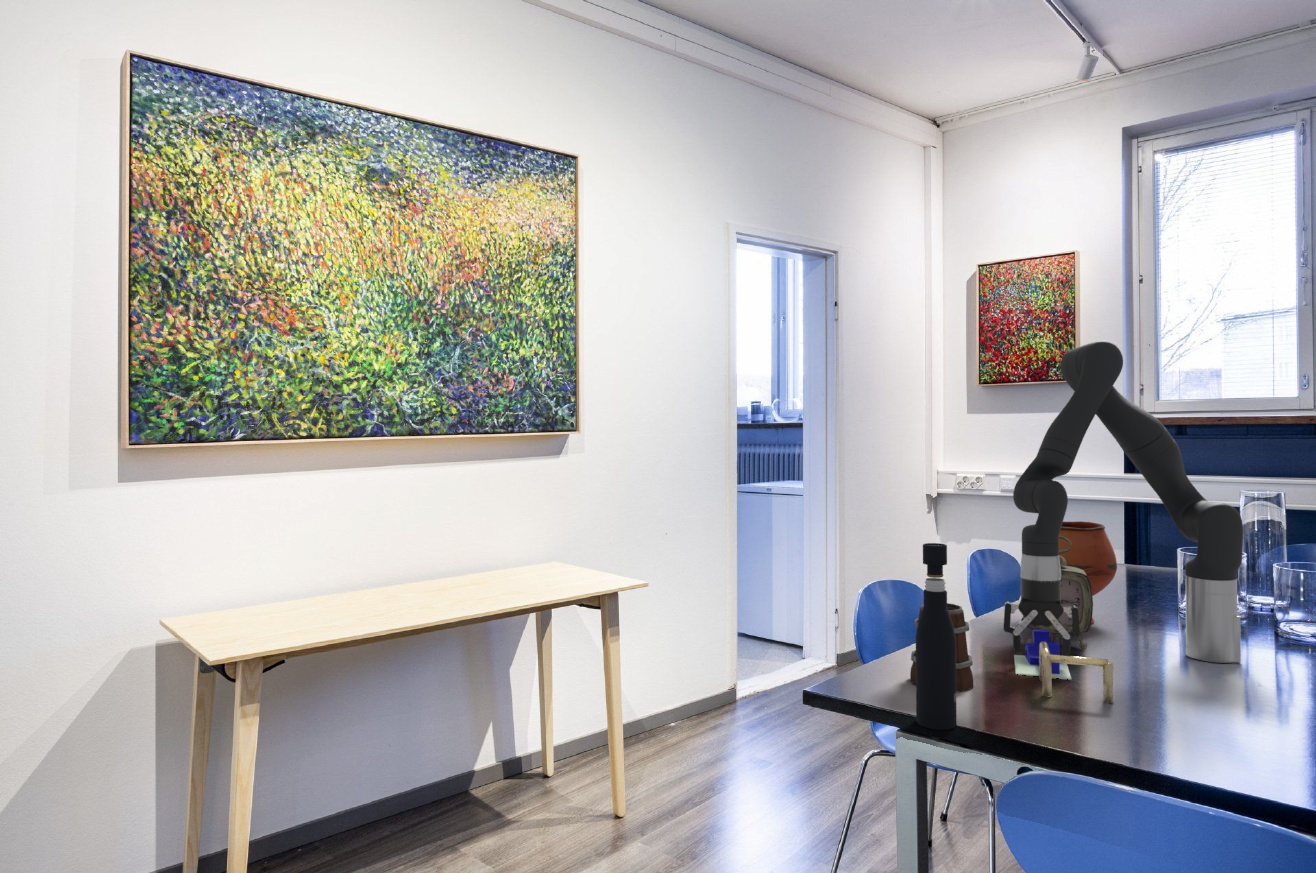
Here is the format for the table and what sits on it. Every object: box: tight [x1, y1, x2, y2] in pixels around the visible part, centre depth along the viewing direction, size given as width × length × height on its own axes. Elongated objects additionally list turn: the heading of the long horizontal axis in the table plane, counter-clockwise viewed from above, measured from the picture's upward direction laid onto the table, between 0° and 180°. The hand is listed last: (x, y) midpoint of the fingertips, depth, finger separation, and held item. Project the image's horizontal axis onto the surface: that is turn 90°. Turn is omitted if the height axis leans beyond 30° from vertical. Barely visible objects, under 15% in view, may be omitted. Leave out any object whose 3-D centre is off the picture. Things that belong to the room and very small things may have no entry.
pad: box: [1013, 654, 1072, 681], centre depth 172 cm, size 10×15×1 cm, turn 158°
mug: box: [909, 602, 974, 692], centre depth 164 cm, size 16×12×15 cm
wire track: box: [1038, 641, 1114, 704], centre depth 157 cm, size 12×12×8 cm
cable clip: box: [1024, 629, 1060, 674], centre depth 173 cm, size 12×4×6 cm, turn 165°
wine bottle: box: [915, 542, 958, 731], centre depth 140 cm, size 6×6×30 cm
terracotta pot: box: [1059, 520, 1118, 625], centre depth 213 cm, size 19×19×25 cm
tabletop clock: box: [1020, 536, 1094, 650], centre depth 190 cm, size 14×9×25 cm, turn 68°
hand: (1041, 654), depth 172 cm, fingers open, 8 cm apart
